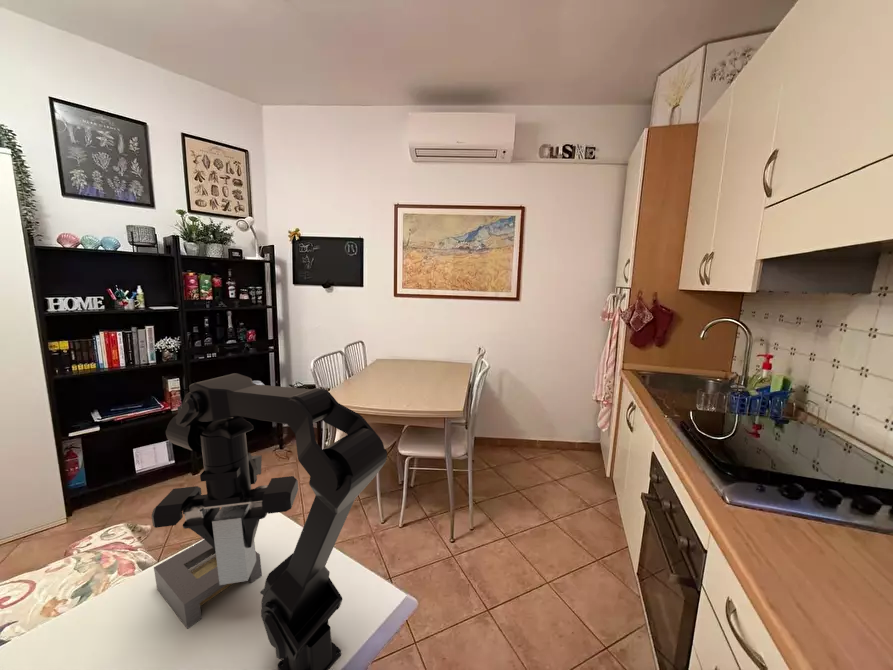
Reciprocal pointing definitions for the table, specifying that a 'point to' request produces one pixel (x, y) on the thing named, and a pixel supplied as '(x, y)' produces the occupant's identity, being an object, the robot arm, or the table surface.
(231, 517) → the tall square pillar
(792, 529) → the table surface
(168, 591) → the slotted bridge-shaped block
